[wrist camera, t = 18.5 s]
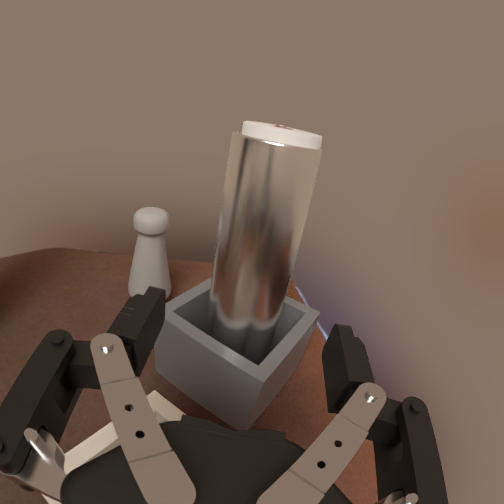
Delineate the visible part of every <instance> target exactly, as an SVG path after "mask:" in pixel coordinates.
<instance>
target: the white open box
mask: <svg viewBox="0 0 504 504" xmlns="http://www.w3.org/2000/svg"><path fill="white" fill-rule="evenodd" d="M146 397H147V399H148V401H149V404H150V406H151V408H152V410H153V412H154V415H155V417H156V419H157V421H158V423H163V422H167V421H181V417H182V414H184V413H183V412H182V411H181V410H179V409H178V408H177V407H175V406H174V405H173V404H172V403H170V402H169V401H168V400H166V399H165V398H164V397H163V396H162V395H160V394H159V393H158V392H157V391H155V390H154V391H153V392H151V393H150V394H149V395H147V396H146ZM184 415H186V414H184ZM119 445H120V442H119V439H118V437H117V434H116V431H115V429H114V426H113V423H112V422H110V423H109V424H107V425H106V426H105V427H103V428H102V429H100V430H99V431H98V432H96V433H95V434H93V435H92V436H90V437H89V438H88V439H86V440H85V441H83V442H82V443H80V444H79V445H77V446H76V447H74V448H73V449H71V450H70V451H68V452H67V453H65V454H64V455H65V462H64V471H65V474H66V475H67V474H68V473H69V472H70V471H72V470H73V469H75V468H77V467H79V466H81V465H83V464H85V463H87V462H89V461H91V460H93V459H95V458H96V457H98V456H100V455H102V454H104V453H106V452H108V451H110V450H111V449H113V448H115V447H117V446H119ZM42 495H43V494H42ZM43 496H44V498H45V499H46V500H47V502H48V503H49V504H61V503H60V502H58V501H55V500H53V499H51V498H49V497H47V496H45V495H43Z"/></svg>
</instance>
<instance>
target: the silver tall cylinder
mask: <svg viewBox="0 0 504 504" xmlns="http://www.w3.org/2000/svg"><path fill="white" fill-rule="evenodd" d="M321 142H322V136H319V135H317V134H313V133H309V132H306V131H302V130H298V129H293V128H288V127H286V126H283V125H278V124H277V125H273V124H268V123H261V122H254V121H244V123H243V128H242V131H239V133H238V132H233V135H232V141H231V146H230V153H229V159H228V165H227V171H226V178H225V185H224V192H223V198H222V205H221V212H220V219H219V226H218V233H217V241H216V248H215V256H214V264H213V272H212V280H211V288H210V296H209V305H208V314H207V323H206V332H205V333H206V334H207V335H209V336H210V337H212V338H214V339H215V340H217V341H218V342H220V343H222V344H223V345H225V346H226V347H228V348H230V349H231V350H233V351H235V352H236V353H238V354H239V355H241V356H243V357H244V358H246V359H248V360H250V361H251V362H253V363H255V364H256V365H258V366H259V364H260V363H261V362H262V361H263V360H264V359H265V358H266V357H267V356H268V353H269V350H270V347H271V344H272V340H273V337H274V334H275V330H276V327H277V323H278V320H279V317H280V313H281V310H282V306H283V303H284V299H285V296H286V292H287V289H288V285H289V281H290V278H291V274H292V270H293V267H294V263H295V259H296V256H297V252H298V248H299V244H300V241H301V237H302V233H303V229H304V225H305V221H306V217H307V213H308V209H309V205H310V201H311V197H312V193H313V189H314V185H315V181H316V176H317V172H318V168H319V163H320V159H321V155H322V149H321V147H320V146H321Z"/></svg>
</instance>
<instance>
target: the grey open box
mask: <svg viewBox="0 0 504 504" xmlns="http://www.w3.org/2000/svg"><path fill="white" fill-rule="evenodd" d="M211 280H212V277H211V278H209V279H207V280H206V281H204V282H202V283H200V284H199V285H197V286H195V287H193V288H192V289H190V290H188V291H186V292H185V293H183V294H181V295H179V296H178V297H176V298H174V299H172V300H171V301H169V302H167V303H165V320H164V324H163V327H162V329H161V331H160V333H159V335H158V337H157V340H156V342H155V344H154V354H155V371H156V372H157V373H158V374H160V375H161V376H162V377H163V378H165V379H166V380H167V381H168V382H170V383H171V384H172V385H174V386H175V387H176V388H177V389H179V390H180V391H181V392H183V393H184V394H185V395H187V396H188V397H190V398H191V399H192V400H194V401H195V402H196V403H198V404H199V405H201V406H202V407H203V408H205V409H206V410H208V411H209V412H211V413H212V414H214V415H215V416H216V417H218V418H219V419H221V420H222V421H224V422H225V423H227V424H229V425H230V426H232V427H233V428H235V429H236V430H249V428H250V427H251V426H252V425H253V424H254V422H255V421H256V420H257V419H258V418H259V416H260V415H261V414H262V413H263V412H264V410H265V409H266V408H267V407H268V405H269V404H270V403H271V402H272V400H273V399H274V398H275V397H276V395H277V394H278V393H279V392H280V390H281V389H282V388H283V386H284V385H285V384H286V383H287V381H288V380H289V379H290V377H291V376H292V375H293V373H294V372H295V371H296V369H297V368H298V366H299V364H300V361H301V359H302V357H303V354H304V352H305V350H306V347H307V345H308V343H309V340H310V338H311V335H312V333H313V331H314V328H315V326H316V323H317V321H318V318H319V315H320V312H319V311H316V310H314V309H312V308H310V307H308V306H306V305H304V304H302V303H300V302H298V301H296V300H294V299H292V298H290V297H288V296H285V299H284V303H283V306H282V310H281V313H280V317H279V320H278V323H277V327H276V330H275V334H274V337H273V340H272V344H271V347H270V350H269V353H268V356H267V357H266V358H265V359H264V360H263V361H262V362H261V363H260V364H259V366H258V365H256V364H255V363H253V362H251V361H250V360H248V359H246V358H244V357H243V356H241V355H239V354H238V353H236V352H235V351H233V350H231V349H230V348H228V347H226V346H225V345H223V344H222V343H220V342H218V341H217V340H215V339H214V338H212V337H210V336H209V335H207V334H206V333H205V332H206V323H207V314H208V305H209V296H210V288H211Z"/></svg>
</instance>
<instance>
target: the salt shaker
mask: <svg viewBox="0 0 504 504" xmlns="http://www.w3.org/2000/svg"><path fill="white" fill-rule="evenodd" d="M133 224H134V228H135V230H136V231H137V232H138V233H139V234H138V238H137V243H136V248H135V252H134V257H133V261H132V266H131V271H130V277H129V282H128V290H129V295H130V296H131V297H133V296H134V295H136V294H141V295H144V293H145V292H146V290H147V289H148V287H149V286H153V287H157V288H161V289H165V291H166V300H167V298H168V297H169V294H170V292H171V282H170V275H169V268H168V260H167V253H166V245H165V236H164V233H165V232H166V231H167V230H168V228H169V224H170V218H169V215H168V213H167V212H166V211H165V210H163V209H161V208H156V207H145V208H142V209H139V210H138V211H137V212H136V213H135V214H134V219H133ZM166 300H165V301H166Z"/></svg>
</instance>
